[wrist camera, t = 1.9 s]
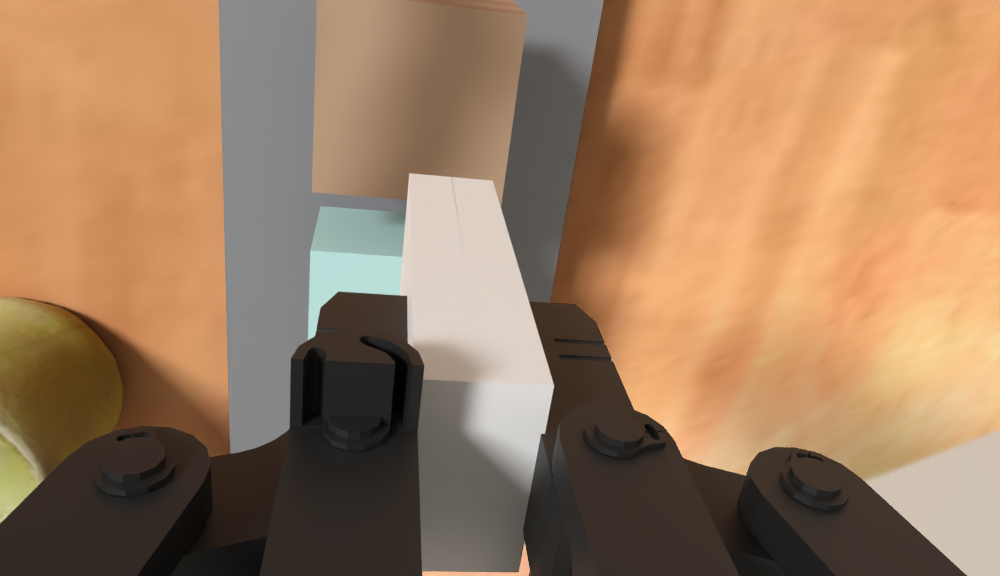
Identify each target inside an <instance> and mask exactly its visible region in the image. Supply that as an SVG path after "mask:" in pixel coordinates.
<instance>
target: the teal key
mask: <svg viewBox="0 0 1000 576" xmlns="http://www.w3.org/2000/svg"><path fill="white" fill-rule="evenodd" d="M405 219H406V213H403V212H390V211H377V210H364V209H352V208H339V207H326V206H320V211H319V215H318V219H317V224H316V228H315V232H314V237H313V241H312V245H311V250H310V280H309V317H308V340H309V339H311V338H313V337H314V336H315V334H316V330H317V323H318V318H319V313H320V308H321V307H322V306H323V305H324V304H325V303H326V302H327V301H328V300H330V299H331V298H332V297H333V296H334V295H335V294H336V293H337V292H338V291H339V292H355V293H370V294H385V295H399V292H400V280H401V268H402V256H403V243H404V231H405Z"/></svg>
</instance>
